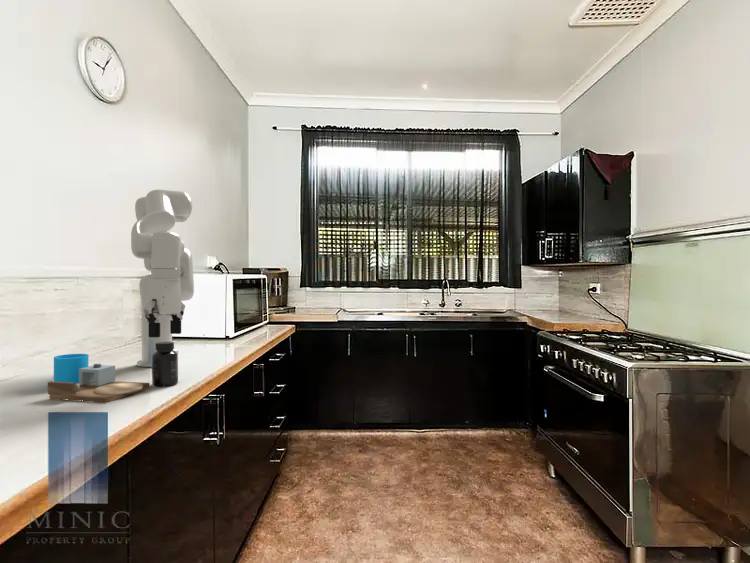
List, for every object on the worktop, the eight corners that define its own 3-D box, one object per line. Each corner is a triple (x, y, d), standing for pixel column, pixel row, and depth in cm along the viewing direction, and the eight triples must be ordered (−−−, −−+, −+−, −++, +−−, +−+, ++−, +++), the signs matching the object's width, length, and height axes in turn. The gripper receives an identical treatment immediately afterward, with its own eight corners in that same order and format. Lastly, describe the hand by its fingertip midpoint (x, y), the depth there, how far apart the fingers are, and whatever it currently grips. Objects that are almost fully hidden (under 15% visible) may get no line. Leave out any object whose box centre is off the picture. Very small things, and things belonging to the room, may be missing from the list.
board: (97, 384, 128) (97, 369, 128) (157, 387, 125) (157, 372, 125) (47, 399, 112) (47, 382, 112) (115, 403, 109) (115, 386, 109)
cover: (96, 379, 127) (96, 361, 127) (115, 380, 126) (115, 362, 126) (78, 384, 121) (78, 365, 121) (98, 385, 120) (98, 366, 120)
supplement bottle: (172, 380, 134) (173, 340, 134) (181, 384, 129) (182, 342, 129) (148, 384, 129) (148, 342, 129) (156, 388, 124) (156, 345, 124)
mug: (81, 387, 125) (81, 358, 124) (47, 389, 123) (48, 359, 123) (97, 378, 136) (97, 351, 136) (67, 379, 134) (67, 352, 134)
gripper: (172, 276, 138) (172, 332, 138) (132, 274, 121) (132, 338, 121) (194, 276, 137) (194, 332, 136) (158, 274, 120) (157, 339, 119)
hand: (165, 335), depth 128 cm, fingers open, 9 cm apart
